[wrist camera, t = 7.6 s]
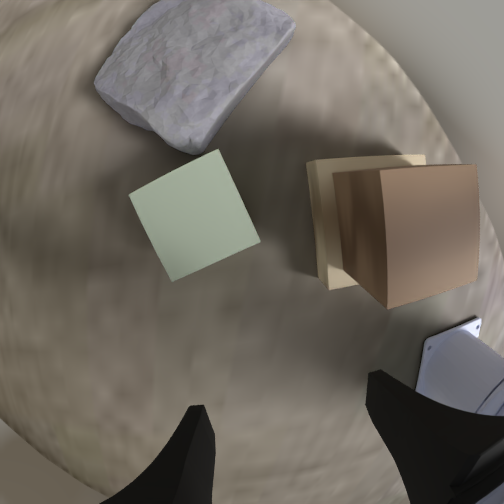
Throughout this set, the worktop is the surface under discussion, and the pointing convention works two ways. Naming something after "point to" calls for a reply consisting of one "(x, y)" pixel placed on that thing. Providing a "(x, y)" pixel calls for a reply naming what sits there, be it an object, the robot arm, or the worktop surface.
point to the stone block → (191, 65)
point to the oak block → (327, 209)
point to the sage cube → (194, 216)
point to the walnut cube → (409, 229)
